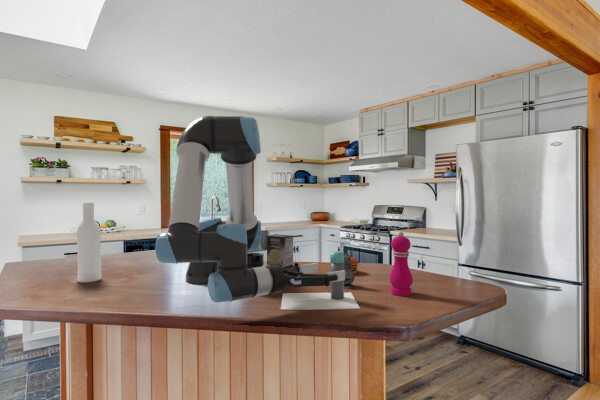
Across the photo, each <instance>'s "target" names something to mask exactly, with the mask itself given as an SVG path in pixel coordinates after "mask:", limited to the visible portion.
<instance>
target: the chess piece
mask: <svg viewBox="0 0 600 400" xmlns="http://www.w3.org/2000/svg"><path fill="white" fill-rule="evenodd" d="M351 257H352V256H351V255H350V254H348V252H347V251H346V252H345V253H344V271H345V280H344V289H354V288H355V287H356V286H355V285H354V284H353V283H354V282H355V278H356V275H355V274H354V275H352V273H351V266H352V265H351Z"/></svg>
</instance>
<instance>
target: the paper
mask: <svg viewBox="0 0 600 400" xmlns="http://www.w3.org/2000/svg"><path fill="white" fill-rule="evenodd" d="M360 309H361V307H360V306H359V304H358V302H357V300H356V299H355V297H354V295H353V293H352V292H345V291H344V299H342V300H334V299H331V292H288V293H287V292H286V293H285V292H283V293H282V297H281V305H280V311H300V310H301V311H304V310H305V311H306V310H307V311H310V310H313V311H315V310H316V311H317V310H321V311H322V310H323V311H324V310H360Z"/></svg>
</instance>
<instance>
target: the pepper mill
mask: <svg viewBox="0 0 600 400" xmlns="http://www.w3.org/2000/svg"><path fill="white" fill-rule="evenodd" d="M390 245H391V248H392V250H393V251H392V256H393V258H394V259H393V260H394V261H393V266H392V269H391V272H390V274H389V283H390V284H391V287H390V294H391V295H394V296H398V297H409V296H411V295H412V288H411V286H412V285H413V283H414V282H413V281H414V279H413V275H412V273H411V270H410V267H409V262H408V261H409V260H408V259H409V256H410V255H409V253H410V248H411V245H412V244H411V240H410V239H409V238H408V237H406V236H405V234H404V232H403V231H398V232H397V236H395V237H393V239H392V240H391V244H390Z"/></svg>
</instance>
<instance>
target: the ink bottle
mask: <svg viewBox="0 0 600 400" xmlns="http://www.w3.org/2000/svg"><path fill="white" fill-rule="evenodd" d="M264 257H265V256H264V253H262V252H261V253H260V252H247V269H249V268H256V267H263V266H264V262H265V261H264Z"/></svg>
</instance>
